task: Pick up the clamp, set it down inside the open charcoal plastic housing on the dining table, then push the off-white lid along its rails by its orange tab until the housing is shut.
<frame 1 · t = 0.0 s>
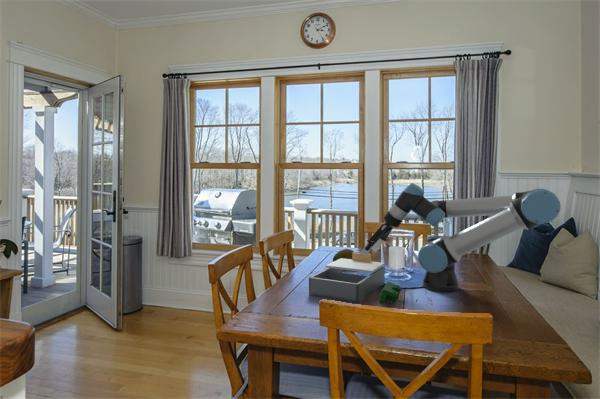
hand: (367, 252, 175), 15 cm above the table, tool tilted 35°, fingers open, 13 cm apart
lid: (355, 261, 179), point 11 cm above the table, slide at 16.0 cm
housing: (341, 293, 166), on the table
fruit: (344, 268, 212), on the table
clamp: (390, 301, 156), on the table
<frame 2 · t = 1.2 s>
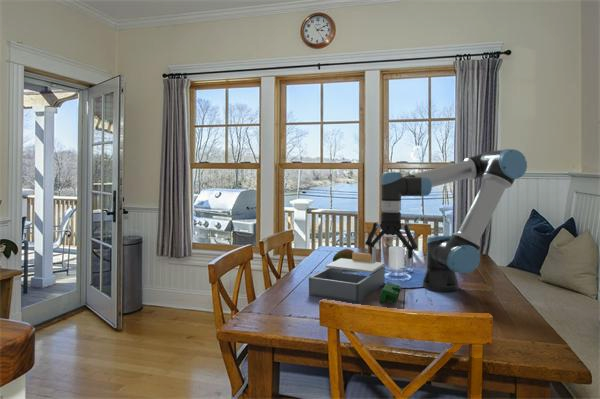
hand: (390, 264, 155), 14 cm above the table, tool pointing down, fingers open, 13 cm apart
nothing on the table moved.
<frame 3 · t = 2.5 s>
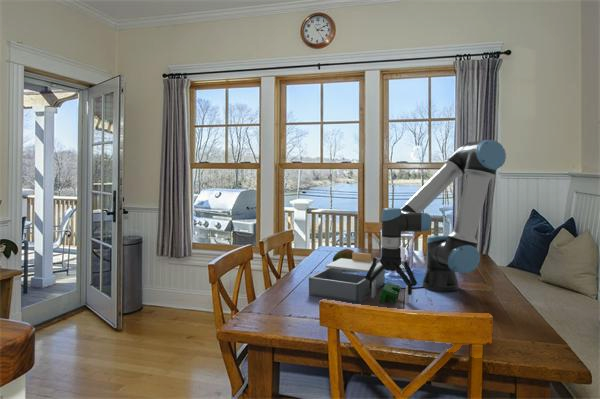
hand: (390, 299, 156), 0 cm above the table, tool pointing down, fingers open, 13 cm apart
nothing on the table moved.
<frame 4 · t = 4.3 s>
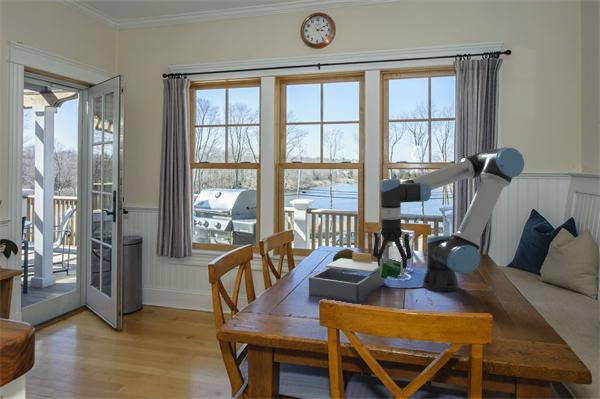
hand: (392, 275, 156), 10 cm above the table, tool pointing down, fingers closed on clamp, 7 cm apart
clamp: (392, 276, 156), point 9 cm above the table, touching gripper
everything else where it was.
when the fingers open (2 cm above the table, at t = 7.8 s): clamp stays where it is, resting on housing.
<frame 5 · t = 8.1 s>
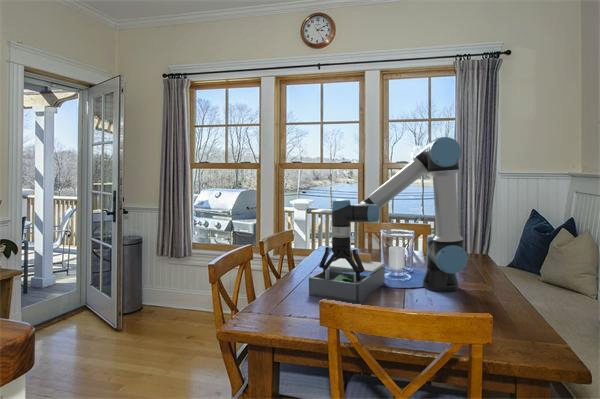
hand: (341, 286, 166), 3 cm above the table, tool pointing down, fingers open, 12 cm apart
clamp: (341, 291, 166), point 1 cm above the table, touching housing
everything else where it was.
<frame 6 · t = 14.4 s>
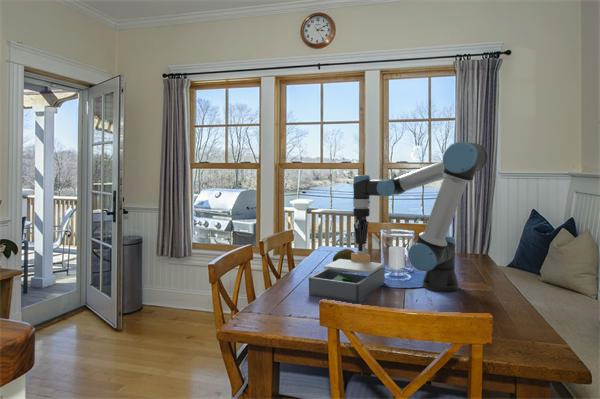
hand: (361, 257, 186), 11 cm above the table, tool pointing down, fingers closed
lid: (354, 262, 178), point 11 cm above the table, slide at 14.4 cm, touching gripper
everything else where it was.
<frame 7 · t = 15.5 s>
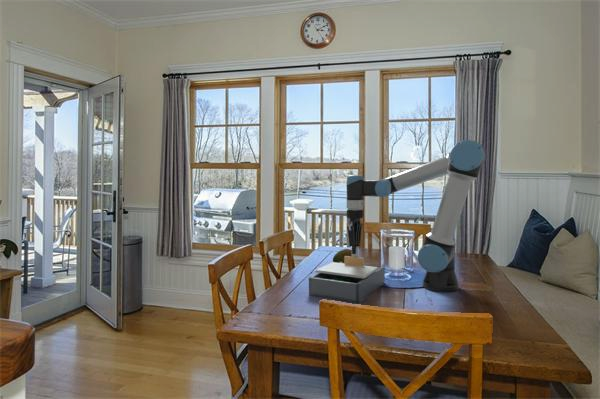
hand: (354, 260, 179), 11 cm above the table, tool pointing down, fingers closed
lid: (347, 265, 171), point 11 cm above the table, slide at 6.4 cm, touching gripper
everything else where it was.
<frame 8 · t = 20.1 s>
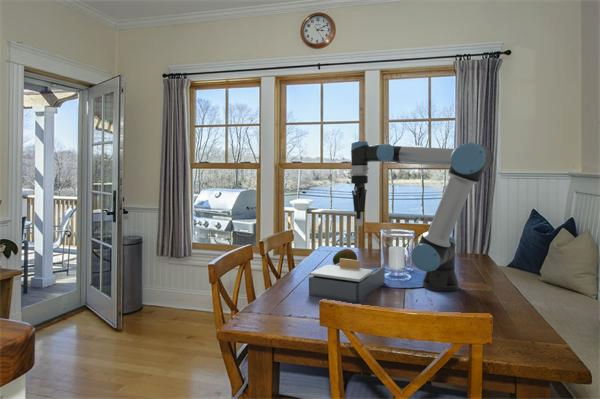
hand: (359, 225, 182), 26 cm above the table, tool pointing down, fingers closed
lid: (342, 268, 166), point 11 cm above the table, slide at 1.0 cm
at the end: clamp inside the target area on the housing (0.4 cm from its centre), point 0.8 cm above the housing's base; lid slide at 1.0 cm; the gripper is holding nothing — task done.
